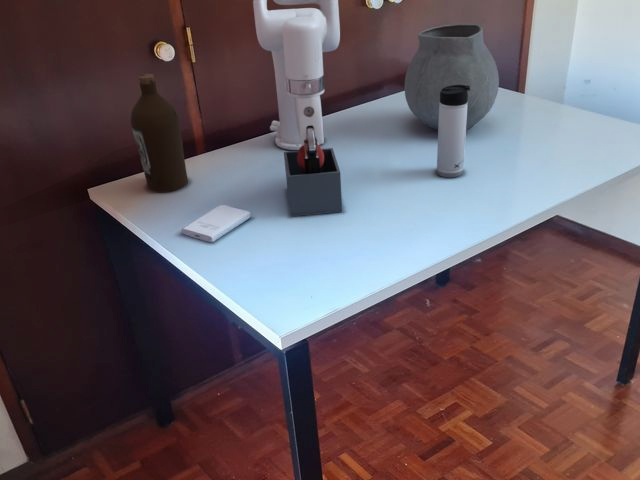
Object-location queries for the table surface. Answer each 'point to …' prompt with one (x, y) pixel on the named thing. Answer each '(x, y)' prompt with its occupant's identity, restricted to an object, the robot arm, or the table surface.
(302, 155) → the onion
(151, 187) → the olive oil
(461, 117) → the travel mug
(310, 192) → the grey drawer with handle
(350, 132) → the table surface
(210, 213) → the hard drive
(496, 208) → the table surface
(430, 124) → the ceramic pot
